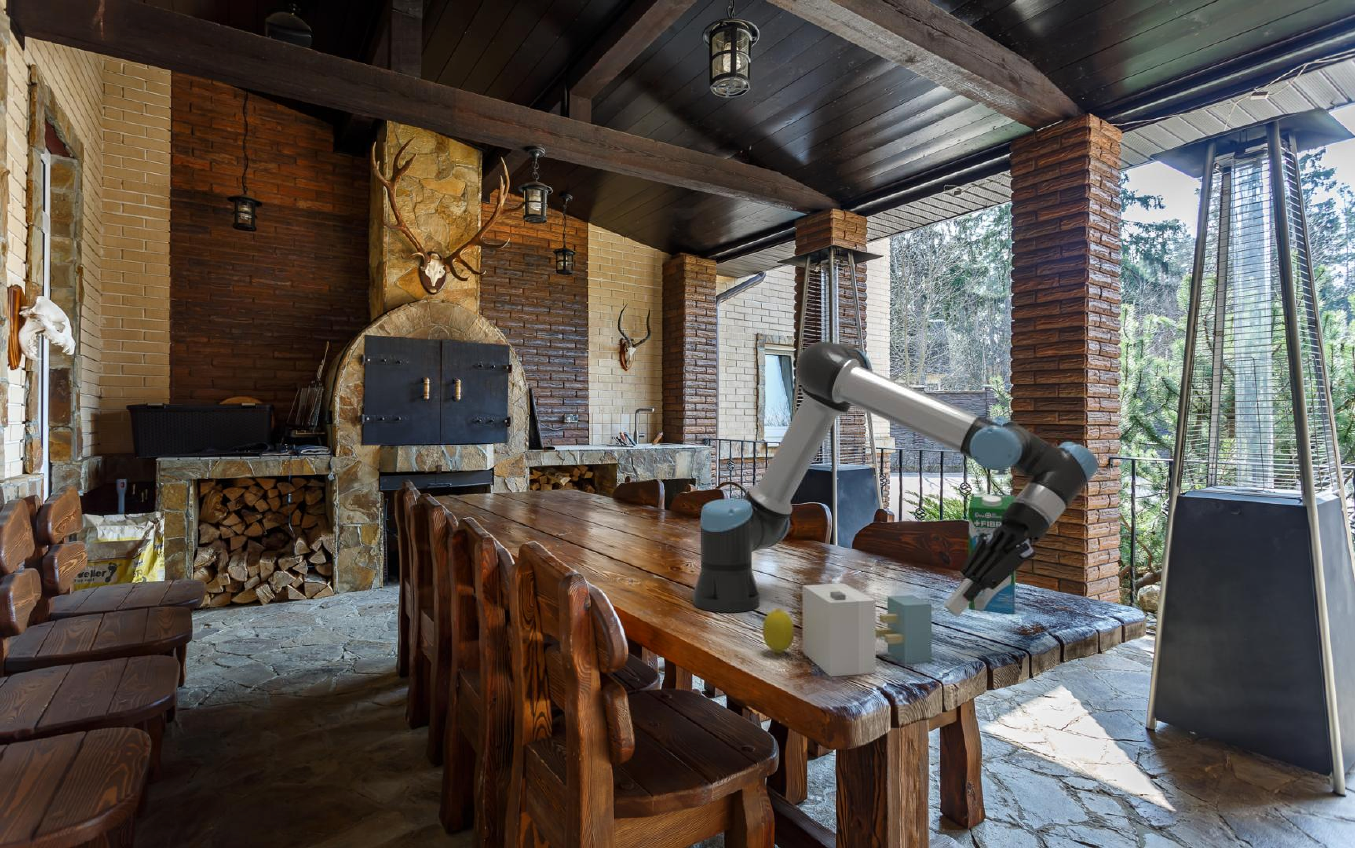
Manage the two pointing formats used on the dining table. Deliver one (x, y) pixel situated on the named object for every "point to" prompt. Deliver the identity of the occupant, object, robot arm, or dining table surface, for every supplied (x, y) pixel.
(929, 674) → the dining table surface
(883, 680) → the dining table surface
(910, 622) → the plug
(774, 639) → the lemon
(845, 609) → the socket
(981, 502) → the milk carton
